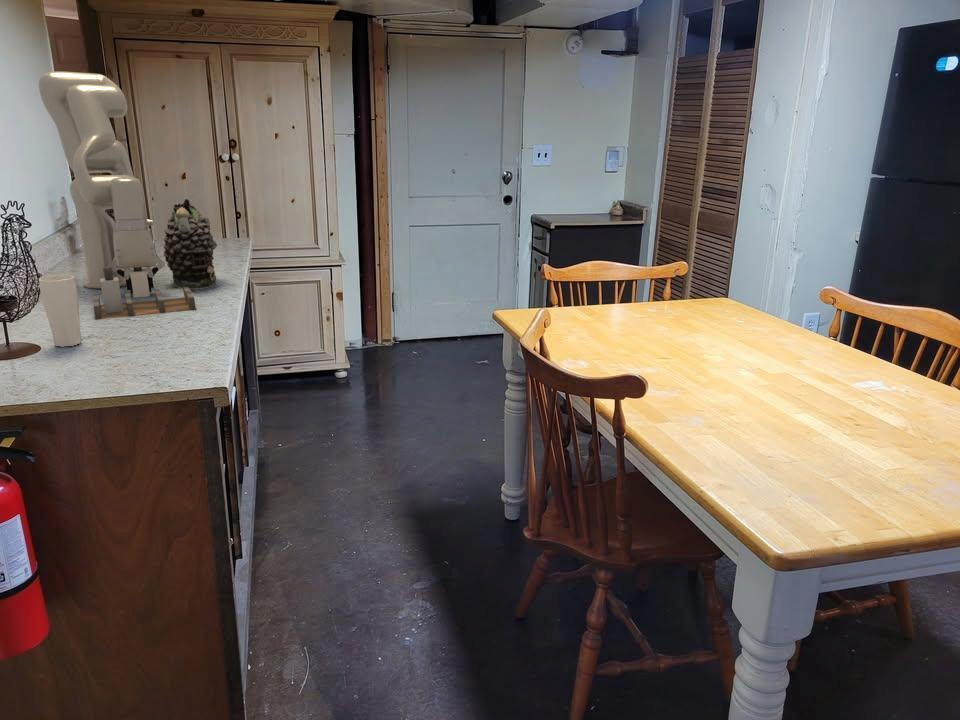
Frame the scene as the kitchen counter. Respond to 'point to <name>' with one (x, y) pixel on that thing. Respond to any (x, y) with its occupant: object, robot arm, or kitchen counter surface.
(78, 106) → the robot arm
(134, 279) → the cream plug
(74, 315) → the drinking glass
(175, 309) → the wooden divided tray
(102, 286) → the grey plug
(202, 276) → the decorative house
